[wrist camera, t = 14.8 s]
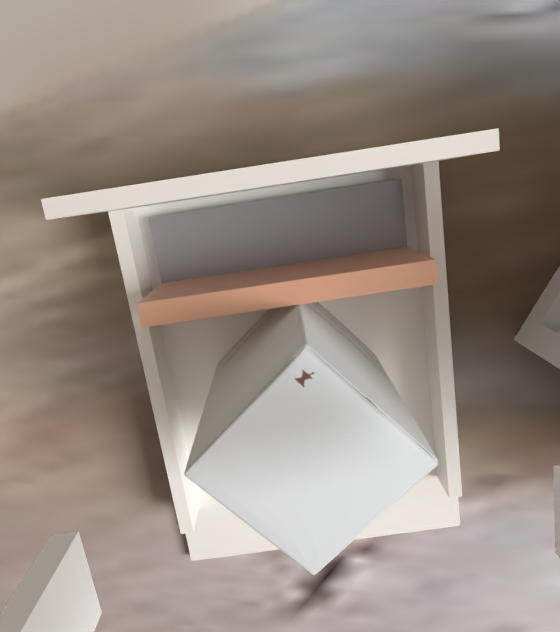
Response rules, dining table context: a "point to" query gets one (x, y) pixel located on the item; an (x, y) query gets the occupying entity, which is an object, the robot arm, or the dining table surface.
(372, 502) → the supplement box
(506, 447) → the dining table surface
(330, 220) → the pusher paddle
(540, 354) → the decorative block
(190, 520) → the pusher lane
